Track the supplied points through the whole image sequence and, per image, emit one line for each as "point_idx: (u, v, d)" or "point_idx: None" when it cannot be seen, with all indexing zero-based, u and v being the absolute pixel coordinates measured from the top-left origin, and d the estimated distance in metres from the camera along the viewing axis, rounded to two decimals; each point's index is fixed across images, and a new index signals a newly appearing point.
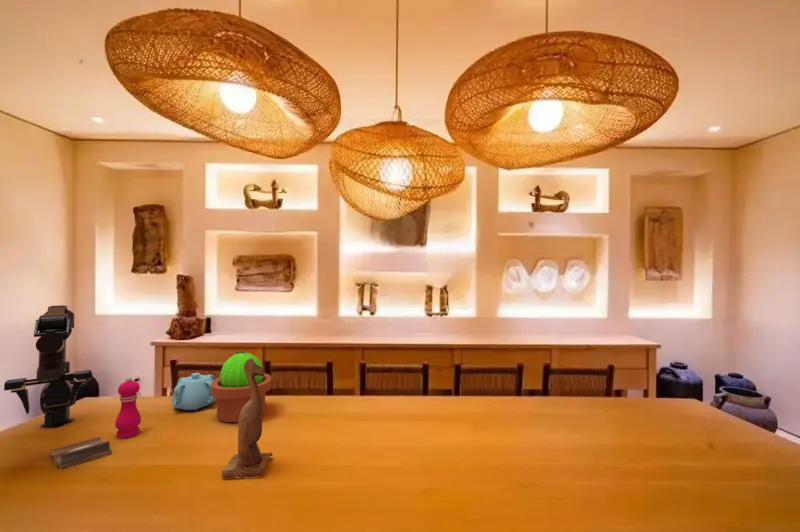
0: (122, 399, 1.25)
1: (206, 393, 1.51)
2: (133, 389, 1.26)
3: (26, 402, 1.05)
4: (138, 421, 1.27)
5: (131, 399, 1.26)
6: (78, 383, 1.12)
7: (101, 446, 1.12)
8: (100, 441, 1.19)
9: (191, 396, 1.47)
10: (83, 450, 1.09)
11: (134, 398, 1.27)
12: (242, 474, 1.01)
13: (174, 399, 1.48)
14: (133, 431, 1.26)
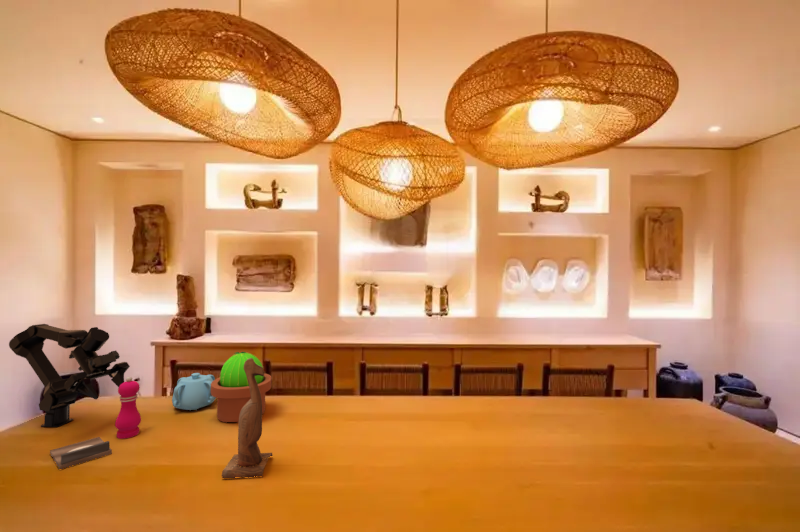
0: (122, 399, 1.25)
1: (206, 393, 1.51)
2: (133, 389, 1.26)
3: (93, 389, 1.24)
4: (138, 421, 1.27)
5: (131, 399, 1.26)
6: (123, 370, 1.35)
7: (101, 446, 1.12)
8: (100, 441, 1.19)
9: (191, 396, 1.47)
10: (83, 450, 1.09)
11: (134, 398, 1.27)
12: (242, 474, 1.01)
13: (174, 399, 1.48)
14: (133, 431, 1.26)
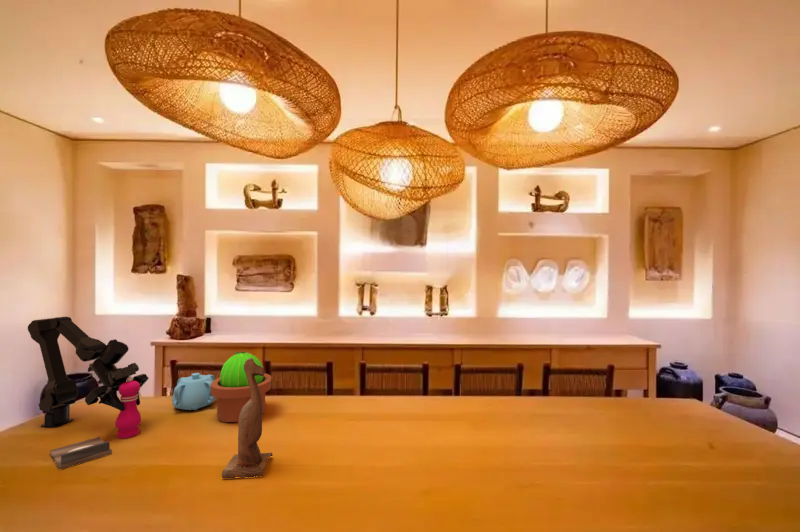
0: (123, 399, 1.25)
1: (206, 393, 1.51)
2: (134, 389, 1.26)
3: (120, 401, 1.24)
4: (139, 421, 1.27)
5: (131, 399, 1.26)
6: None
7: (101, 446, 1.12)
8: (100, 441, 1.19)
9: (191, 396, 1.47)
10: (83, 450, 1.09)
11: (134, 398, 1.27)
12: (242, 474, 1.01)
13: (174, 399, 1.48)
14: (133, 431, 1.26)
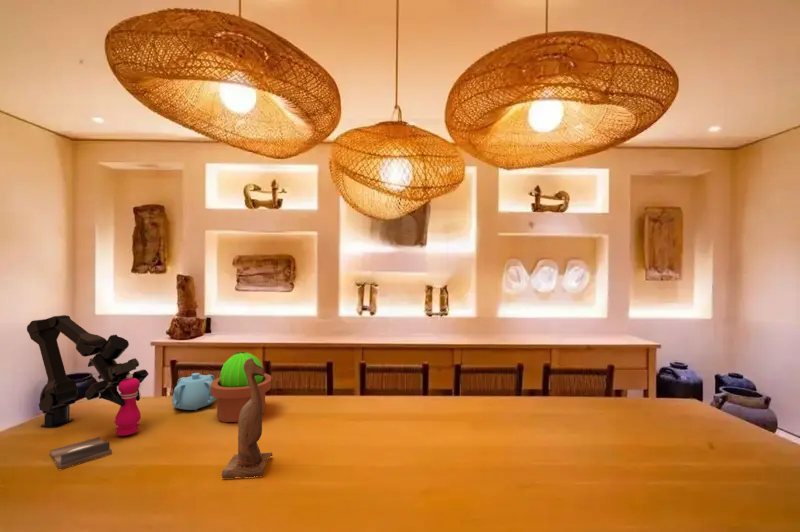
0: (122, 396, 1.25)
1: (206, 393, 1.51)
2: (134, 386, 1.26)
3: (120, 396, 1.24)
4: (138, 418, 1.27)
5: (131, 396, 1.26)
6: None
7: (101, 446, 1.12)
8: (100, 441, 1.19)
9: (191, 396, 1.47)
10: (83, 450, 1.09)
11: (134, 395, 1.27)
12: (242, 474, 1.01)
13: (174, 399, 1.48)
14: (133, 428, 1.26)
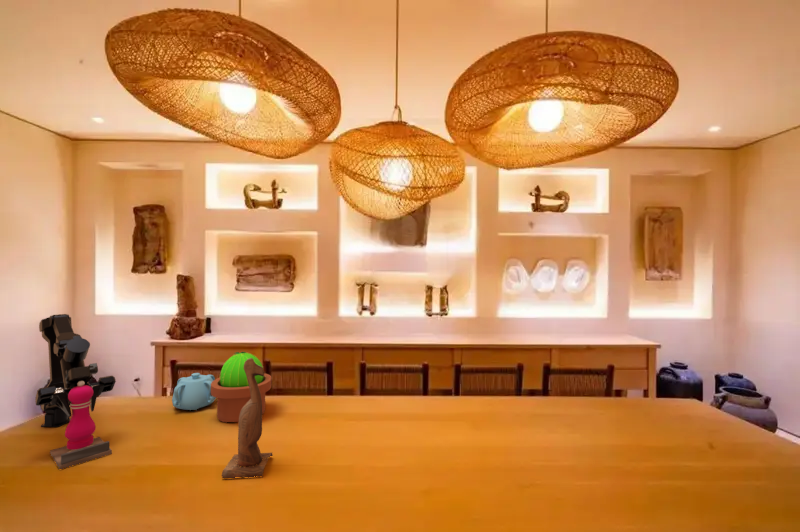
0: (70, 405, 1.13)
1: (206, 393, 1.51)
2: (80, 396, 1.12)
3: (68, 405, 1.12)
4: (87, 432, 1.13)
5: (79, 407, 1.12)
6: (97, 387, 1.19)
7: (101, 446, 1.12)
8: (100, 441, 1.19)
9: (191, 396, 1.47)
10: (83, 450, 1.09)
11: (83, 406, 1.13)
12: (242, 474, 1.01)
13: (174, 399, 1.48)
14: (80, 442, 1.13)
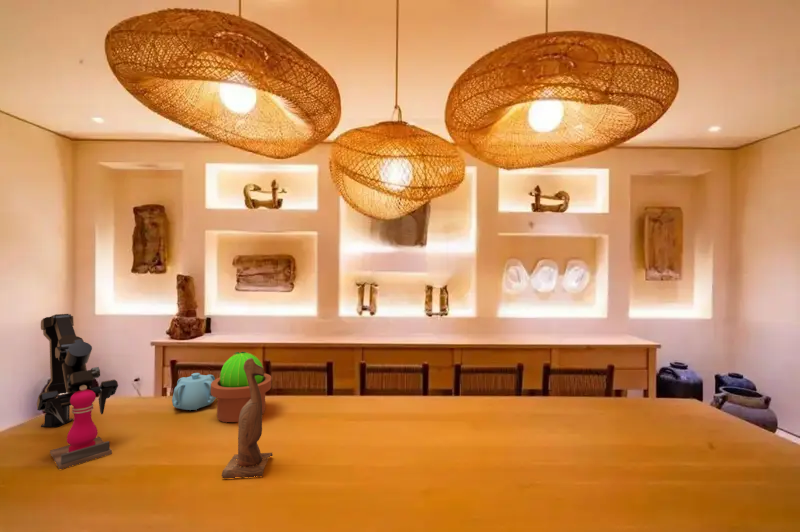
0: (72, 410, 1.11)
1: (206, 393, 1.51)
2: (82, 400, 1.11)
3: (62, 411, 1.09)
4: (89, 437, 1.12)
5: (81, 411, 1.11)
6: (106, 390, 1.19)
7: (101, 446, 1.12)
8: (100, 441, 1.19)
9: (191, 396, 1.47)
10: (83, 450, 1.09)
11: (85, 410, 1.12)
12: (242, 474, 1.01)
13: (174, 399, 1.48)
14: None
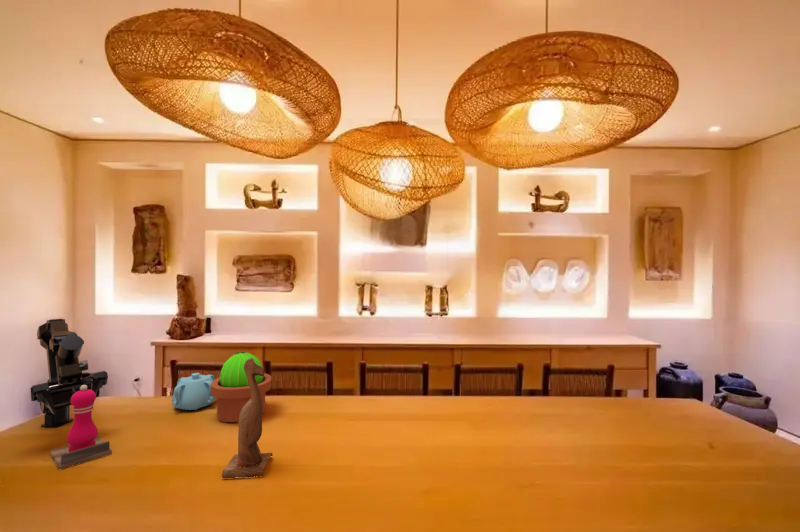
0: (73, 410, 1.11)
1: (206, 393, 1.51)
2: (83, 400, 1.11)
3: (52, 403, 1.15)
4: (89, 437, 1.12)
5: (81, 411, 1.11)
6: (96, 381, 1.23)
7: (101, 446, 1.12)
8: (100, 441, 1.19)
9: (191, 396, 1.47)
10: (83, 450, 1.09)
11: (85, 410, 1.12)
12: (242, 474, 1.01)
13: (174, 399, 1.48)
14: None
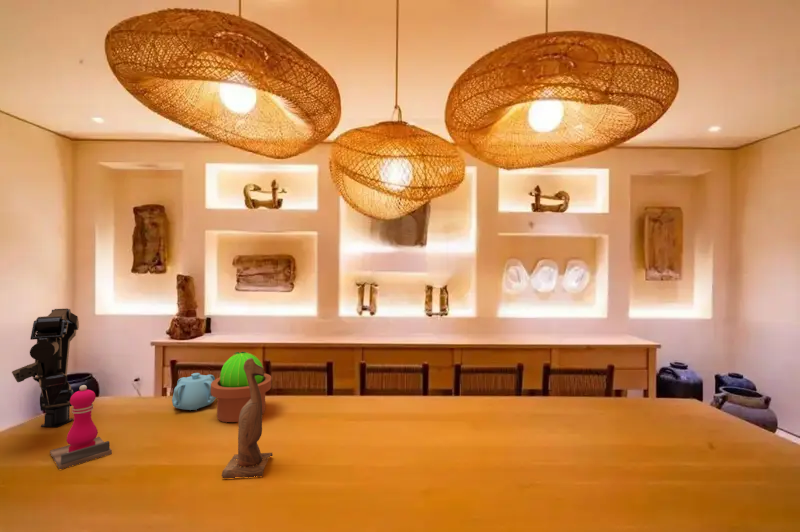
0: (72, 410, 1.11)
1: (206, 393, 1.51)
2: (82, 400, 1.11)
3: (41, 389, 1.24)
4: (89, 437, 1.12)
5: (81, 411, 1.11)
6: (41, 387, 1.16)
7: (101, 446, 1.12)
8: (100, 441, 1.19)
9: (191, 396, 1.47)
10: (83, 450, 1.09)
11: (85, 410, 1.12)
12: (242, 474, 1.01)
13: (174, 399, 1.48)
14: None
